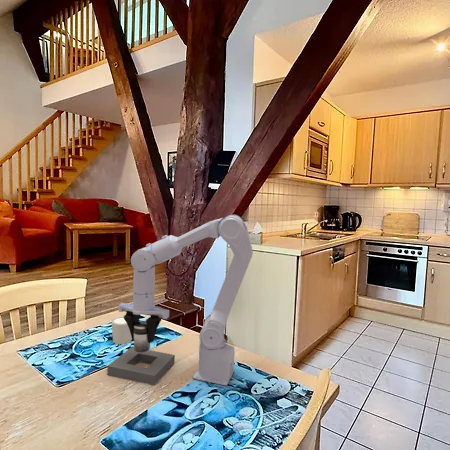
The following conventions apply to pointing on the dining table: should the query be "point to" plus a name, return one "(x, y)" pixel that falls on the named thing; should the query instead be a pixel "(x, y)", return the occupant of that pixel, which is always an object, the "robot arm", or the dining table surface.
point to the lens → (141, 337)
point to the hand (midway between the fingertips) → (142, 339)
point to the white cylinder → (120, 331)
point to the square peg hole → (129, 370)
